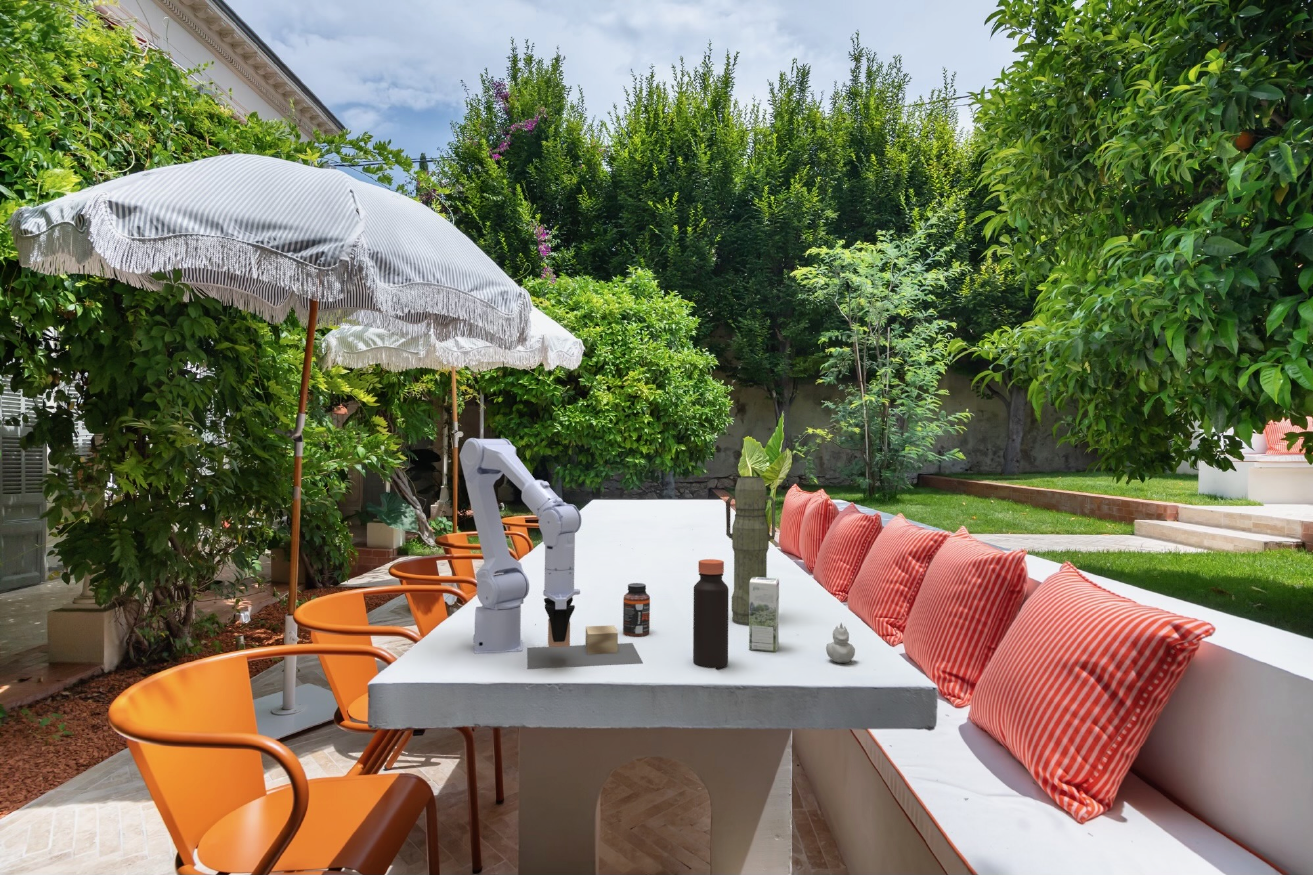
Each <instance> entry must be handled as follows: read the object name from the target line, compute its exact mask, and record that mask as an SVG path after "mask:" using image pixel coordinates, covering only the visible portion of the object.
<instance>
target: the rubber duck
mask: <svg viewBox="0 0 1313 875" xmlns="http://www.w3.org/2000/svg"><path fill="white" fill-rule="evenodd" d="M839 624H840V625H839V626H838V625H836V626H835V628H834V629H833V632H832V639H833V641H832V642H829V643H828V644H826V647H825V649H826V650H825V651H826V654H827V656H828V657H829V658H830V659H831V660H832V661H833V662H835V663H837V664H847V663H849V662H851V661H852V659H854V657H855V654H856V648H855V647H854V645H853V644H851V643H849V640H850V634H849V631H848V629H847V627H846V625H844V626H843V623H842V622H840V623H839Z"/></svg>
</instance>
